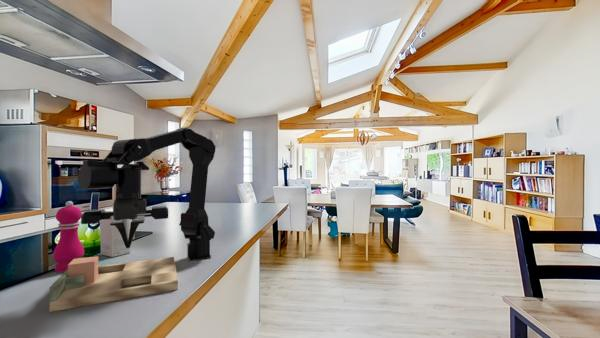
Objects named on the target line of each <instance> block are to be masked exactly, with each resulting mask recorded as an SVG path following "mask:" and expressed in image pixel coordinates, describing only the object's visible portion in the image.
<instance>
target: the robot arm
mask: <svg viewBox="0 0 600 338" xmlns="http://www.w3.org/2000/svg"><path fill="white" fill-rule="evenodd" d="M112 143H113V144H112V147H111V150H110V152H109V153H108V154H107V155H106V156H105V157H104V159H103V160H100V161H98V160H95V159H84V160H82V165H81V167H80V169H79V171H78V173H77V176H76V177H77V183H78V184H77V185H78V186H79V188H80V189H82V190H101V189H102V190H103V189H104V190H105V189H112V188H113V187H115V190H114V192H115V199H114V202H113V204H112V209H113V212H105V210H106V209H104V208H102V209H88V210H86V211H84V212H82V216H81V219H80V221H81V222H80V225H89V224H90V225H92V224H98V223H100V220H103V219H110V220H111V223H110V225H111V226H116V228H117V229H118V230H119V232H120V234H121V236H122V239H123V241H124V244H125V247H126V248H130V249H131V245H132V242H133V239H134V237H135V233H136V231H137V229H138V227H139V225H141V224H144V223H145V221H146V220H145V218H147V217H151V218H153V219H154V220H162V219H163V220H165V219H169V208H168V206H167V205H166V206H165V205H163V206H162V205H161V206H152V207H151V209H147V198H144V197H143V198H142V171H150V167H149V166H147V165H146V164H145V163H144V161H142V160H143V159H146V158H148V157H149V156H150V155H152V154H153V153H154V152H155V151H158V150H161V149H164V148H167V147H170V146H174V145H177V144H181V145H182V147H183V148H184V149H186V150H187V151H188V155H189V156H188V158H189V159H190V161H191V164H192V171H191V178H190V179H191V180H190V191H189V199H188V208H187V210H186V211H185V212H180V222H179V226H180V231H181V232H182V233H183V236H184V238H185V239H188V243H187V244H186V247H187V248H186V256H187V258H188V259H189V260H190V261H198V260H205V259H211V258H212V255H211V243H210V242H211V241H212V240H213V239H214V238H215V234H216V232H215V230H214V229H213V228H212V226H210V225H209V215H208V214H207V211H206V209H205V206H206V205H205V204H206V194H207V185H208V173H209V166H210V164H211V163H212V161H213V160H214V157H215V153H216V144H215V143H214V142H213V140H212V139H210V138H208V137H206V136H204V135H202V134H199V133H197V132H195V131H194V130H193V129H191V128H189V127H182V128H177V129H176V130H171V131H168V132H164V133H160V134H156V135H153V136H149V137H143V138H142V137H141V138H129V139H120V140H116V141H114V142H112ZM133 162H135V163H133ZM121 165H122V166H121ZM118 166H121V167H118ZM124 219H130V232H129V239H128V232H127V223H126V220H124Z"/></svg>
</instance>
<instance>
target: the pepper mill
mask: <svg viewBox="0 0 600 338" xmlns="http://www.w3.org/2000/svg"><path fill="white" fill-rule="evenodd" d="M64 205H65V207H64V206H63V207H61V208H60V209H58V210H57V211H56V213H55V219H56V221H57V222H59V223H58V224H57V226H58V227H57V229H58V230H59V232H60V233H59V234H60V235H59V240H58V242H57V244H56V246H55V247H54V249H53V253H52V259H53V260H54V261H55V262H56V264H55V265H54V271H55V272H56V273H64V272H65V271H66V270H67V269H68V264H69V263H70V262H71V261H72V260H73V259H78V258H83V257H84V255H85V248H84V247H85V246H84V244H82V242H81V240H80V237H79V231H78V230H79V227H80V226H81V222H80V221H81V216H82V214H83V212H82V210H81V209H80V208H78V207H77V206H74V202H73V201H72V200H69V201H66V202H65V204H64Z"/></svg>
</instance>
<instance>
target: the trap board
mask: <svg viewBox="0 0 600 338" xmlns="http://www.w3.org/2000/svg"><path fill="white" fill-rule="evenodd" d="M178 289H179V280H178V274H177V267H176V262H175V257H174V256H170V257H164V258H163V257H162V258H154V259H148V260H147V259H146V260H145V259H144V260H139V261H138V260H137V261H131V262H123V263H115V264H113V263H112V264H107V265H98V277H97V279H96V280H95V282H94V283H88V284H84V275H78V276H71V277H68V269H67V270H66V271H65V272H62V274H61V275H60V276H59V277H58V278H57V279H56V280H55V281H54V282H53V283H52V284H51V285H50V286H49V313H51V312H57V311H62V310H68V309H73V308H74V309H75V308H80V307H86V306H91V305H97V304H102V303H108V302H112V301H113V302H114V301H121V300H125V299H131V298H136V297H143V296H147V295H148V296H149V295H153V294H159V293H160V294H161V293H165V292H171V291H175V290H178Z"/></svg>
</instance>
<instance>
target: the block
mask: <svg viewBox="0 0 600 338" xmlns="http://www.w3.org/2000/svg"><path fill="white" fill-rule="evenodd" d="M98 266H99V256H88V257H81V258H78V259H73V260H72V261H71V262H70V263H69V264H68V277H71V276H78V275H84V284H88V283H94V282H95V280H96V279H97V277H98Z"/></svg>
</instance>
